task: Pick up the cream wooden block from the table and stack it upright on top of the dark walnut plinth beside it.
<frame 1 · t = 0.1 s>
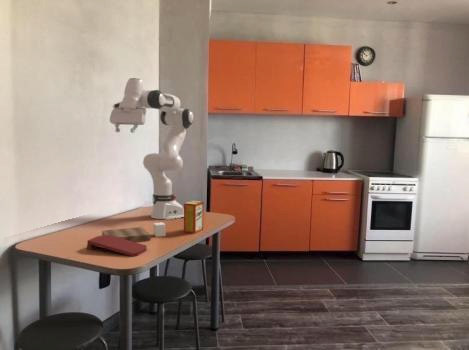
hand: (124, 132, 211), 52 cm above the table, tool tilted 20°, fingers open, 8 cm apart
baking soda box: (193, 231, 219), on the table
cream block: (159, 235, 209), on the table
plinth: (126, 238, 201), on the table
carton: (116, 250, 182), on the table, touching plinth
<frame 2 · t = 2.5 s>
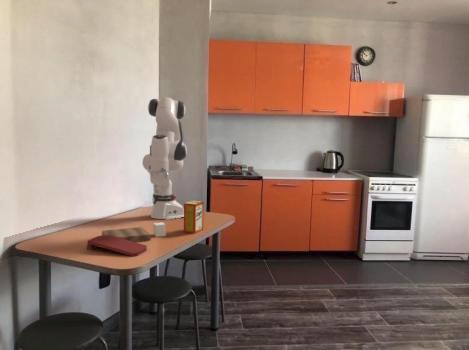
hand: (159, 194, 206), 21 cm above the table, tool pointing down, fingers open, 8 cm apart
nothing on the table moved.
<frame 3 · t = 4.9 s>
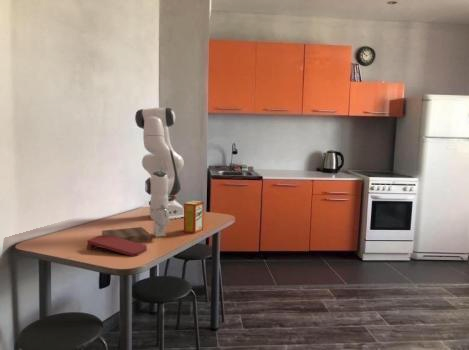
hand: (159, 230, 208), 2 cm above the table, tool pointing down, fingers closed on cream block, 5 cm apart
cream block: (159, 235, 209), on the table, touching gripper
everything else where it was.
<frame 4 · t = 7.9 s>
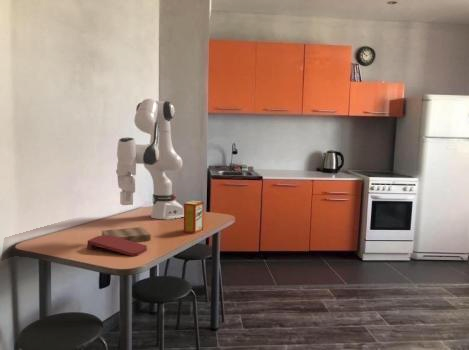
hand: (126, 199, 199), 19 cm above the table, tool pointing down, fingers closed on cream block, 5 cm apart
cream block: (126, 204, 199), point 17 cm above the table, touching gripper
everything else where it was.
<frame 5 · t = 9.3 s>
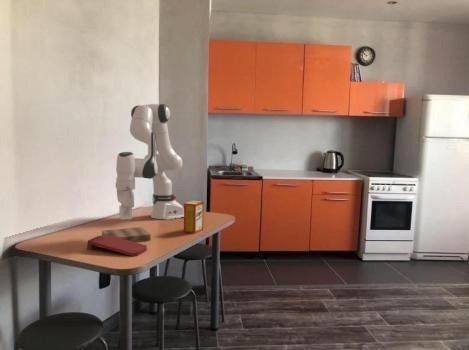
hand: (125, 213, 199), 12 cm above the table, tool pointing down, fingers closed on cream block, 5 cm apart
cream block: (125, 218, 199), point 10 cm above the table, touching gripper
everything else where it was.
when the fingers open (7 cm above the table, at t = 10.7 s): cream block drops 1 cm, resting on plinth.
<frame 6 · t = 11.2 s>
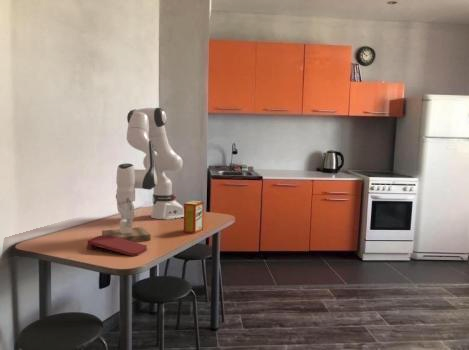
hand: (126, 224, 200), 7 cm above the table, tool pointing down, fingers open, 8 cm apart
cream block: (126, 232, 200), point 3 cm above the table, touching plinth
everything else where it was.
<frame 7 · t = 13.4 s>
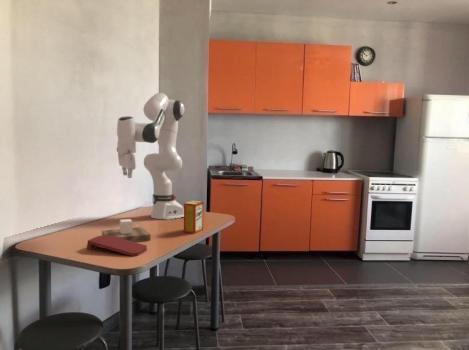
hand: (127, 176, 206), 30 cm above the table, tool pointing down, fingers open, 8 cm apart
nothing on the table moved.
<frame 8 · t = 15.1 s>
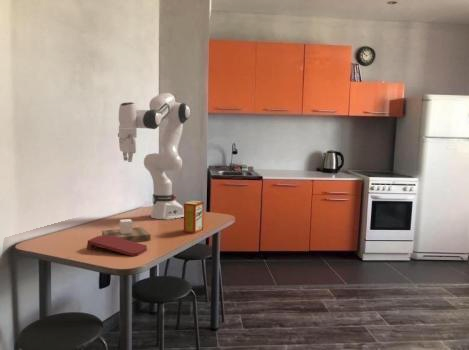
hand: (127, 161, 210), 37 cm above the table, tool pointing down, fingers open, 8 cm apart
nothing on the table moved.
at the end: cream block inside the target area on the plinth (0.1 cm from its centre), point 3.0 cm above the plinth's base; cream block tilted 0°; the gripper is holding nothing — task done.
